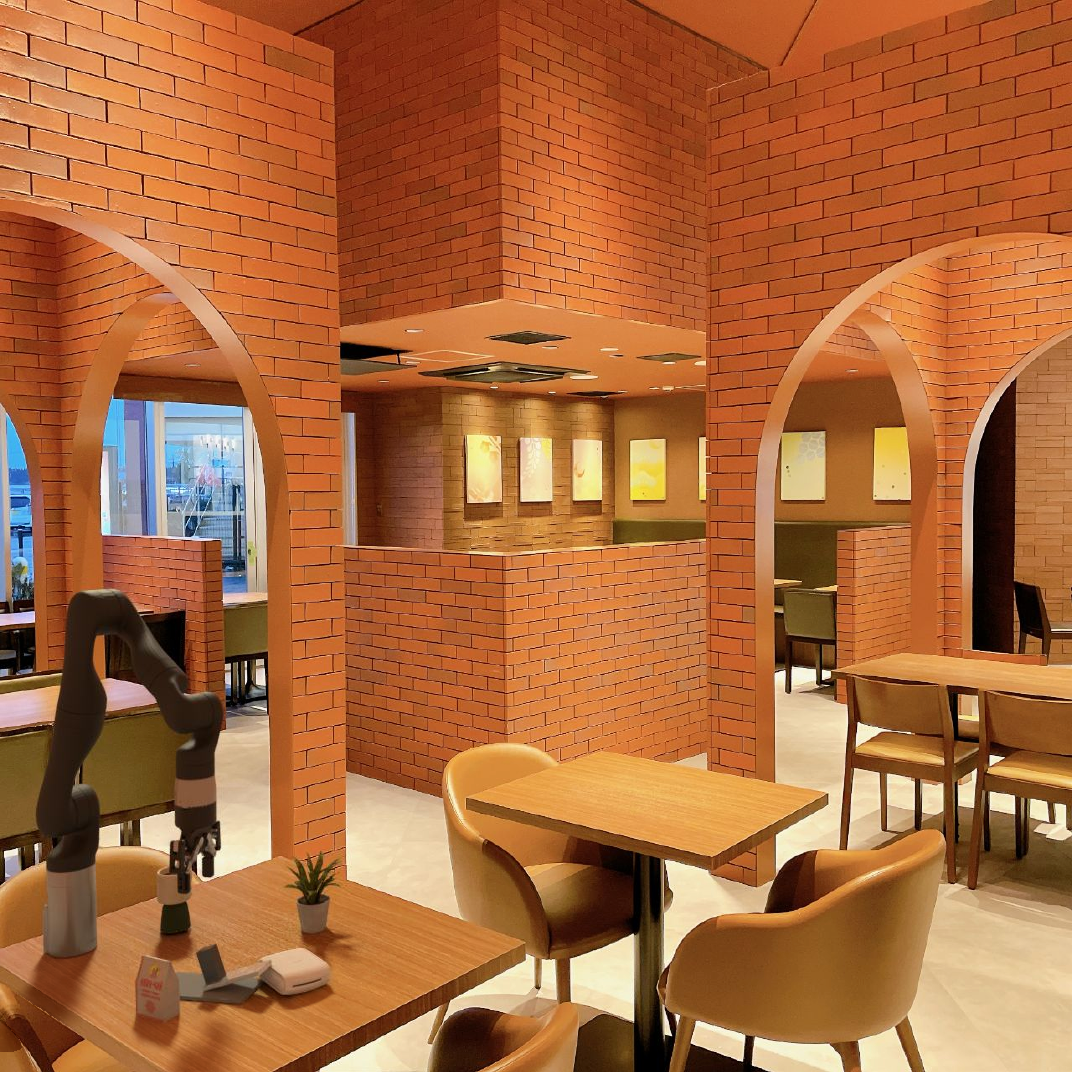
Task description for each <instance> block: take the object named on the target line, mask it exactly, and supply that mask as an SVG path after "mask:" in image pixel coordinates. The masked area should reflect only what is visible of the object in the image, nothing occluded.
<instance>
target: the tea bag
mask: <svg viewBox="0 0 1072 1072" xmlns="http://www.w3.org/2000/svg"><path fill="white" fill-rule="evenodd" d="M134 982H135V984H134V986H135V992H134V993H135V1016H138V1015H139V1016H138V1017H142V1016H143V1017H142V1018H145V1017H146V1018H147V1019H149V1020H153V1021H156V1022H159V1021H160V1022H159V1023H163V1022H164V1023H166V1022H167V1021H168V1022H169V1020H171V1019H173V1018H174V1017H176V1016H178V1015H180V1014H181V1009H180V1008H181V1007H180V1006H181V1001H180V1000H181V999H180V994H179V979H178V977H177V975H176V971H175V969H174V967H173V963H172V961H171V960H168V959H167V960H166V959H163V958H159V957H155V956H152V955H147V954H143V955H141V960H140V964H139V969H138V972H137V975H136V978H135V981H134ZM165 1021H166V1022H165Z"/></svg>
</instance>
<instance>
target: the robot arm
mask: <svg viewBox="0 0 1072 1072" xmlns="http://www.w3.org/2000/svg"><path fill="white" fill-rule="evenodd" d="M64 632H65V633H64V649H63V651H64V653H63V663H62V664H63V665H62V672H61V681H60V688H59V693H58V697H57V701H56V708H55V709H56V710H55V713H54V714H55V715H54V723H53V731H52V737H51V743H50V749H49V753H48V754H49V755H48V758H47V763H46V767H45V772H44V776H43V780H42V783H41V786H40V789H39V792H38V793H39V794H38V798H37V802H36V807H35V823H36V826H37V829H38V830H39V832H40V834H41V835H42V836H44V838H47V839H48V838H49V839H56V838H61V837H62V839H61V841H60V842H59V843H58V844H57V845H56V846H55V847H54V848H53V849H51V850H50V851H49V852H48V853H47V856H46V860H45V870H46V871H45V872H46V903H45V904H44V905H43V907H42V941H43V942H42V943H43V948H42V949H43V953H44V954H48V955H49V956H51V957H54V958H71V957H77V956H80V955H85V954H87V953H90V952H91V951H93V950H94V949H96V947H97V945H98V915H97V913H98V912H97V911H98V910H97V876H96V875H97V874H96V872H97V869H96V862H97V860H96V858H97V857H96V856H97V852H98V849H99V846H100V828H101V827H100V825H101V807H100V801H99V797H98V794H97V792H96V790H94V789H95V788H93V787H92V786H91V785H90V784H86V783H79V784H75V781H76V779H77V775H78V773H79V770H80V768H81V766H82V765H83V763H84V762H85V760H86V758H87V757H88V755H89V754H90V752H91V751H92V750H93V748H94V747H95V745H96V744H97V741H99V739H100V736H101V734H102V732H103V728H104V724H105V719H106V712H107V707H108V706H107V704H108V696H107V692H106V689H105V687H104V685H103V682H102V681H101V679H100V677H99V675H98V672H97V670H96V667H95V663H94V650H95V643H96V639H97V637H101V636H109V635H116V636H117V637H119V638H120V639H121V640H123V642H125V643H126V644H127V646H128V647H129V649H130V660H131V668H132V669H133V670H132V671H133V673H134V675H135V677H136V678H137V680H138V682H139V683H140V684H142V686H143V687H144V688H145V690H147V691H148V693H150V695H152V697H153V698H154V699H155V701H156V704H157V706H158V709H159V712H160V713H161V716H162V718H163V720H164V722H165V725H167V727H168V728H170V730H171V731H173V732H174V733H177V734H178V735H179V734H180V735H189V734H191V737H190V738H189V740H188V741H187V742H185V743H184V744H182V745H181V746H179V747H178V748H177V750H176V752H175V783H174V790H173V791H174V792H173V793H174V825H175V827H176V828H177V829H179V830H180V837H179V839H178V840H177V839H176V840H174V839H172V840H171V839H170V842H169V862H168V863H169V865H168V866H169V872H170V873H175V874H177V883H178V884H177V889H178V893H180V894H188V893H189V892H190V873H189V872H190V869H191V868H192V865H193V863H195V862H196V861H197V859H198V855H200V854H201V856H202V857H201V876H202V877H203V878H209V879H210V878H213V877H214V876H215V857H216V856H217V852H220V851H221V850H222V837H221V836H222V834H221V832H222V831H221V821H220V820H218V819H217V818H218V816H217V814H218V813H217V810H218V809H217V804H218V803H217V802H218V801H217V782H216V763H215V762H216V749H217V747H218V742H219V739H220V734H221V731H222V726H223V722H224V717H225V715H224V707H223V703H222V700H221V699H220V698H219V696H218V695H217V694H216V693H214V692H212V691H201V692H196V693H192V694H188V695H187V694H185V693H186V692H187V690H188V688H189V684H190V682H189V681H190V680H189V678H188V676H187V674H186V673H185V672H184V671H183V670H182V668H180V667H179V666H178V665H177V663H176V662H175V661H174V660H173V659H172V658H171V657H170V656H169V655H168V654H167V652H165V650H164V649H163V648H162V646H160V644H159V642H158V641H157V640H156V638H155V636H154V635H153V634H152V632H151V630H150V628H149V627H148V625H147V624H146V622H145V620H144V619H143V618H142V616H141V614H140V612H139V611H138V609H137V608H136V607H135V604H134V603H133V602H132V600H131V599H130V598H129V597H128V596H127V595H126V594H125V592H123V591H122V590H119V589H115V588H105V589H104V588H103V589H89V590H88V589H87V590H80V591H77V592H75V593H74V594H73V595H72V597H71V598H70V600H69V602H68V606H67V609H66V615H65V631H64ZM213 840H215V842H214V841H213ZM175 865H176V866H175ZM185 865H186V867H185Z"/></svg>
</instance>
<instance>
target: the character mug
mask: <svg viewBox="0 0 1072 1072" xmlns="http://www.w3.org/2000/svg"><path fill="white" fill-rule="evenodd" d="M175 866H176V864H175ZM185 867H186V864H185ZM189 873H190V892H189V893H188V894H180V893H178V889H177V884H178V883H177V874H175V873H170V872H169V865H168V866H165V867H162V868H160V869H159V870H157V872H156V899H157V902H158V904H160V905H163V906H162V907H161V908H162V909H161V915H160V924H159V925H160V927H159V931H160V932H161V933H162V934H172V933H180V932H182V931H188V930H190V928H191V926H192V923H191V916H190V910H189V903H188V902H187V901H188V900H190V899H191V897H192V896H193V888H192V882H193V881H192V880H193V870H192V867H191V869H190V872H189Z"/></svg>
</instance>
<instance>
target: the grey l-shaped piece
mask: <svg viewBox="0 0 1072 1072" xmlns="http://www.w3.org/2000/svg"><path fill="white" fill-rule="evenodd" d="M195 955H196V958H197V962H198V964H199V968H200V969H201V974H203V977H204V980H205V983H206V984H205V985H204V986H203V987H202V988H203V991H207V990H210V989H214V988H217V987H221V986H224V985H228V984H231V983H235V982H238V981H242V980H245V979H249V978H257V977H259V975H260V974H261V973H263V972H264V971H265V970H266V969H267V968H268V967H269V966H270V965H271V964H272V961H271V960H268V961H264V962H261V963H258V962H257V963H255V964H250V965H248V966H245V967H240V968H237V969H234V970H230V971H226V970H225V966H224V962H223V960H222V957H221V954H220V950H219V948H218V945H217V943H214V944H210V945H206V946H203V947H202V948H200V949H199V950H198V951H196V952H195Z"/></svg>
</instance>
